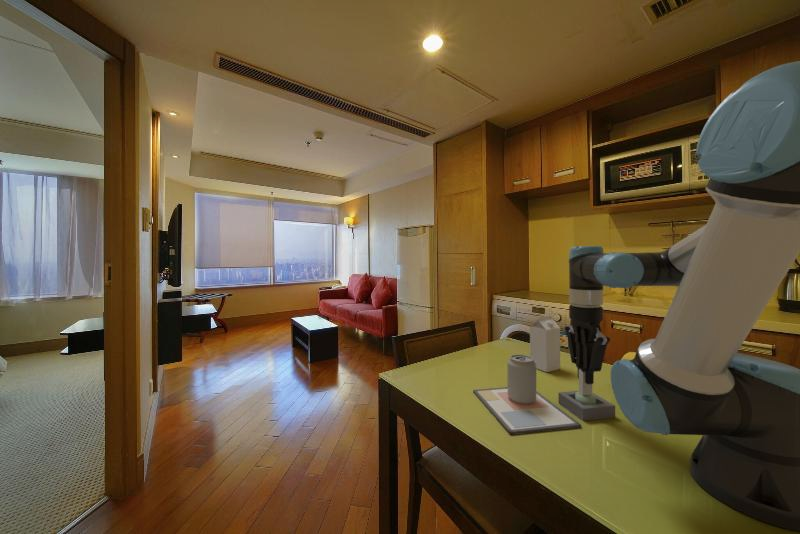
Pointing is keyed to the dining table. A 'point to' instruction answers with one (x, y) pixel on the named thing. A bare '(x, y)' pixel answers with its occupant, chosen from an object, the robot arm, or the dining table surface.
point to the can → (521, 379)
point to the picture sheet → (524, 412)
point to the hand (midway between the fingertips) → (585, 393)
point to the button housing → (586, 407)
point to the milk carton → (545, 344)
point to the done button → (585, 399)
